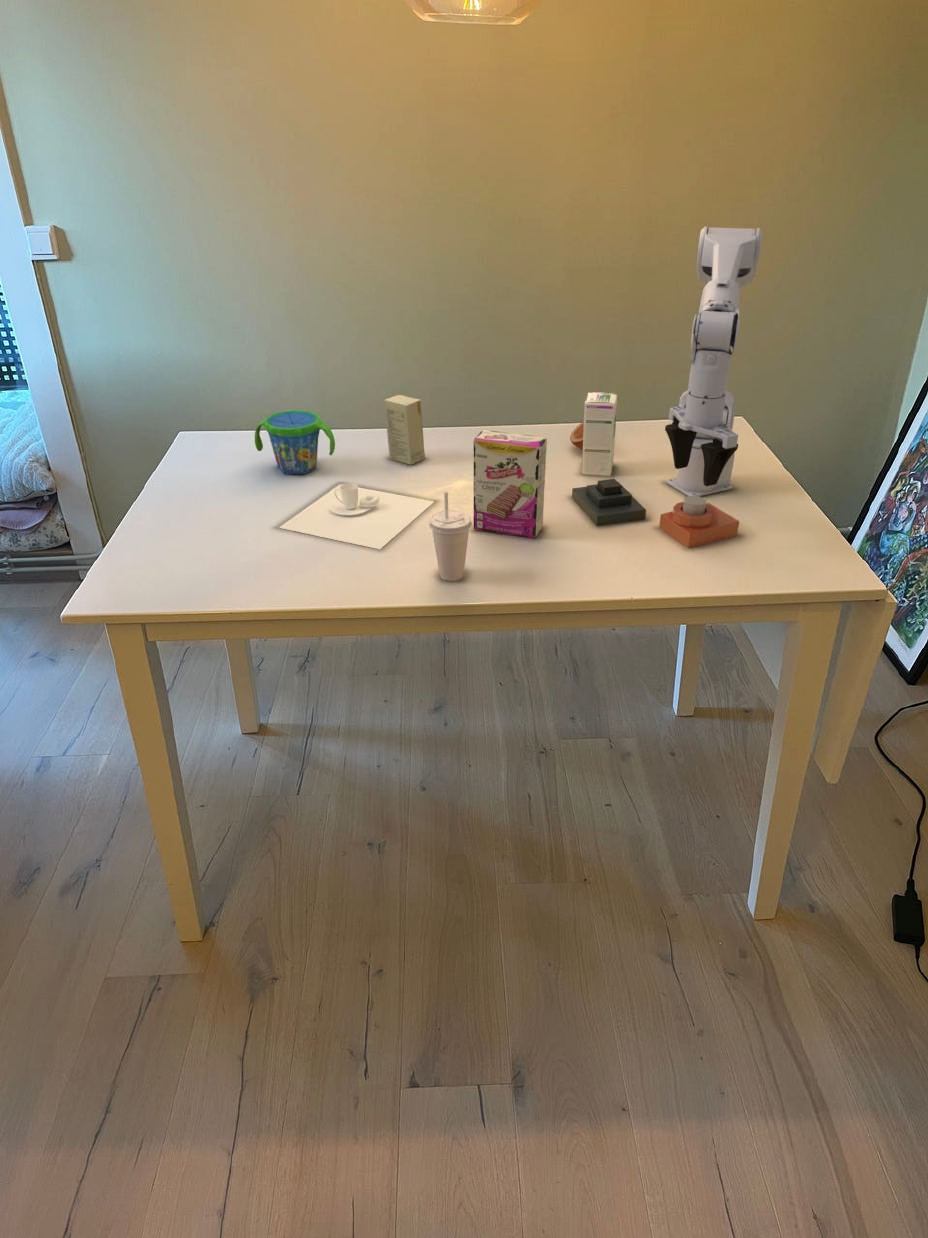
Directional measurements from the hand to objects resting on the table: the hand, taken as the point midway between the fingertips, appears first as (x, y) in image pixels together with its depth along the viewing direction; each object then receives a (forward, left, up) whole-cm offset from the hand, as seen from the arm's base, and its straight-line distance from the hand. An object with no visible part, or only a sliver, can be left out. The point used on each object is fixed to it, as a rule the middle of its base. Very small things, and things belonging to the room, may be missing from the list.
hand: (695, 475), depth 140 cm
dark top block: (+7, -14, -7) cm, 17 cm away
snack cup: (+51, -57, -11) cm, 77 cm away
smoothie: (+41, -5, -11) cm, 43 cm away
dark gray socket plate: (+7, -14, -10) cm, 19 cm away
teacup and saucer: (+47, -32, -11) cm, 58 cm away
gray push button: (0, 0, -6) cm, 6 cm away
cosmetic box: (+30, -52, -11) cm, 61 cm away
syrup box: (-1, -30, -11) cm, 32 cm away
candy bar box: (+26, -15, -11) cm, 32 cm away
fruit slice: (-4, -39, -8) cm, 40 cm away
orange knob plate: (-2, 0, -10) cm, 11 cm away
